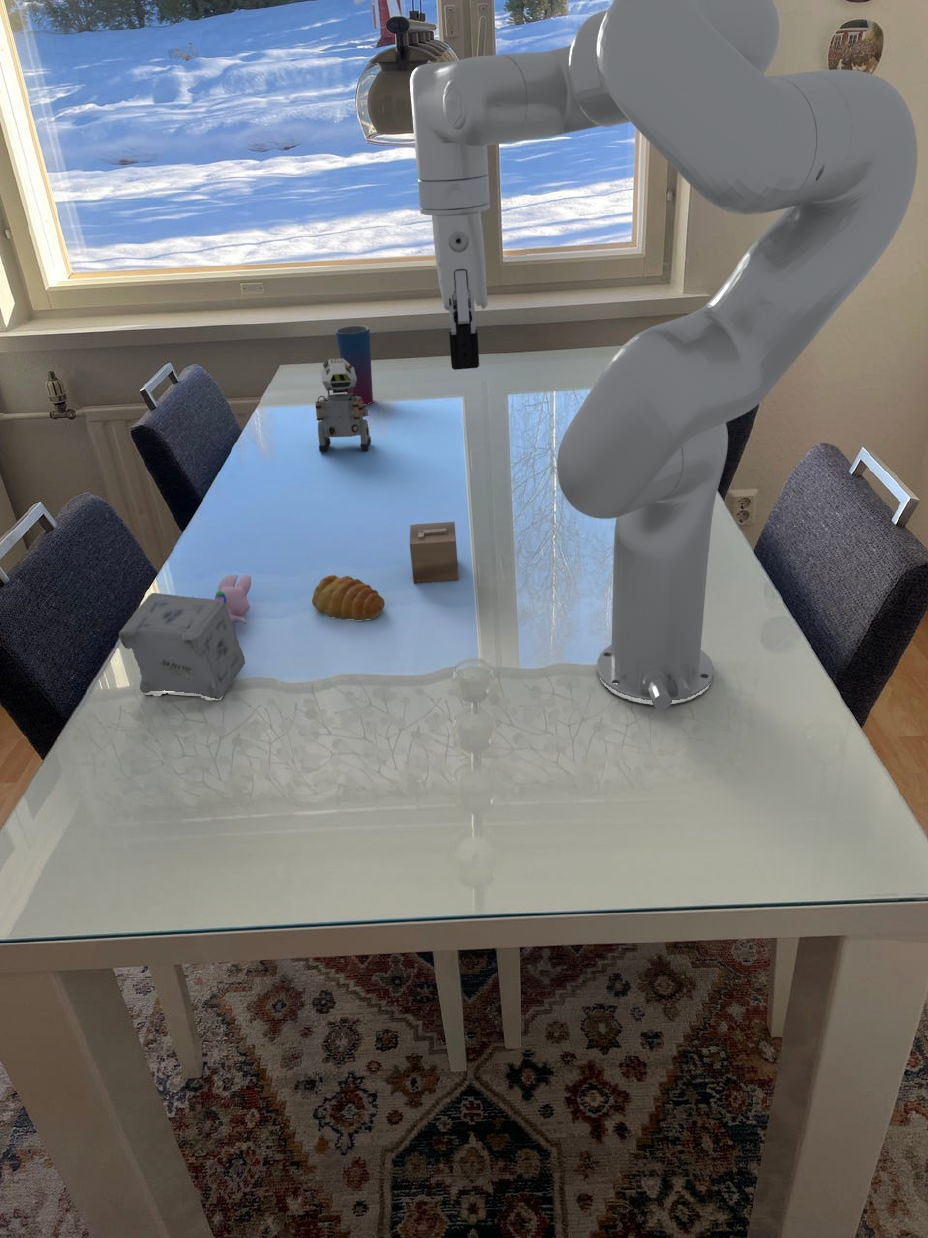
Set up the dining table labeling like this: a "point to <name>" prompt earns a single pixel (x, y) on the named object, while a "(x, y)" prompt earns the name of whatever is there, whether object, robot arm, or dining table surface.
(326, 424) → the figurine
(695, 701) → the dining table surface
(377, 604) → the pastry
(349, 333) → the cup
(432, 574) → the lettered block
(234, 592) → the rabbit figure
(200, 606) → the incense holder
